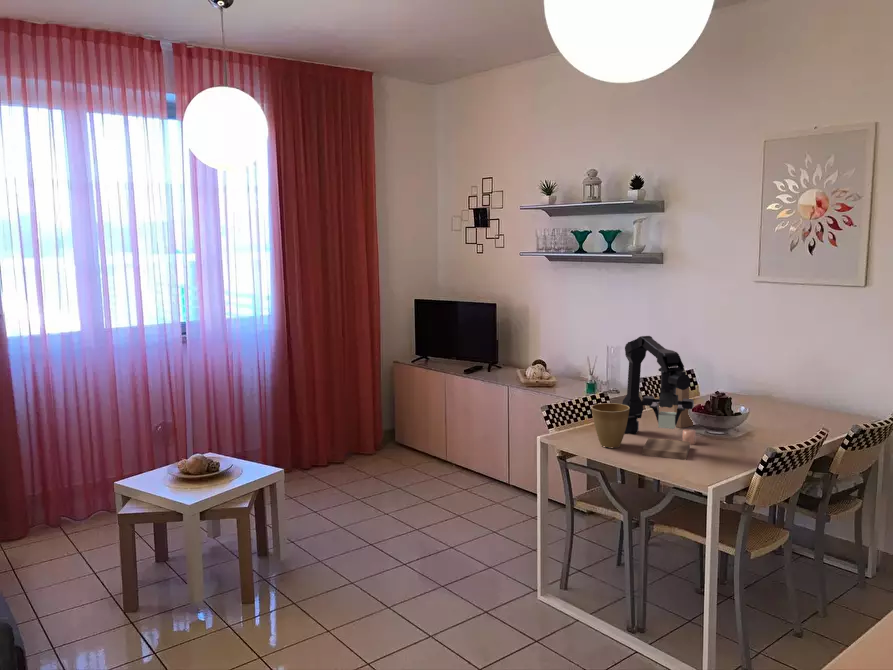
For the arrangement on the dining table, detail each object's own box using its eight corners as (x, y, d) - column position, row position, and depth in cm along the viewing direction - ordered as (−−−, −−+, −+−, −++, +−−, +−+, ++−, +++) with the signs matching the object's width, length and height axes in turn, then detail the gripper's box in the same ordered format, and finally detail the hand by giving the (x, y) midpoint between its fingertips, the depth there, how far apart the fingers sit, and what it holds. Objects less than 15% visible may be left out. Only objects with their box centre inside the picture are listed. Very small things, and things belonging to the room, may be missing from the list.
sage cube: (658, 427, 280) (658, 415, 280) (660, 423, 286) (660, 411, 285) (674, 429, 278) (674, 416, 277) (676, 425, 283) (676, 412, 283)
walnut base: (642, 455, 279) (642, 448, 279) (648, 443, 294) (648, 437, 293) (686, 459, 273) (686, 453, 272) (689, 447, 287) (690, 441, 287)
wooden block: (687, 423, 323) (689, 383, 321) (695, 425, 319) (697, 385, 317) (673, 426, 319) (674, 386, 316) (681, 428, 315) (682, 388, 313)
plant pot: (624, 440, 299) (625, 402, 297) (632, 451, 284) (633, 411, 282) (588, 440, 299) (588, 402, 297) (594, 451, 285) (594, 411, 282)
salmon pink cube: (681, 444, 293) (682, 432, 292) (683, 440, 297) (683, 428, 297) (694, 445, 291) (695, 433, 290) (695, 441, 295) (696, 429, 295)
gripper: (640, 387, 276) (639, 426, 278) (692, 390, 268) (690, 431, 271) (644, 381, 286) (643, 419, 288) (694, 384, 279) (693, 424, 281)
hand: (667, 423), depth 282 cm, fingers closed on sage cube, 6 cm apart
